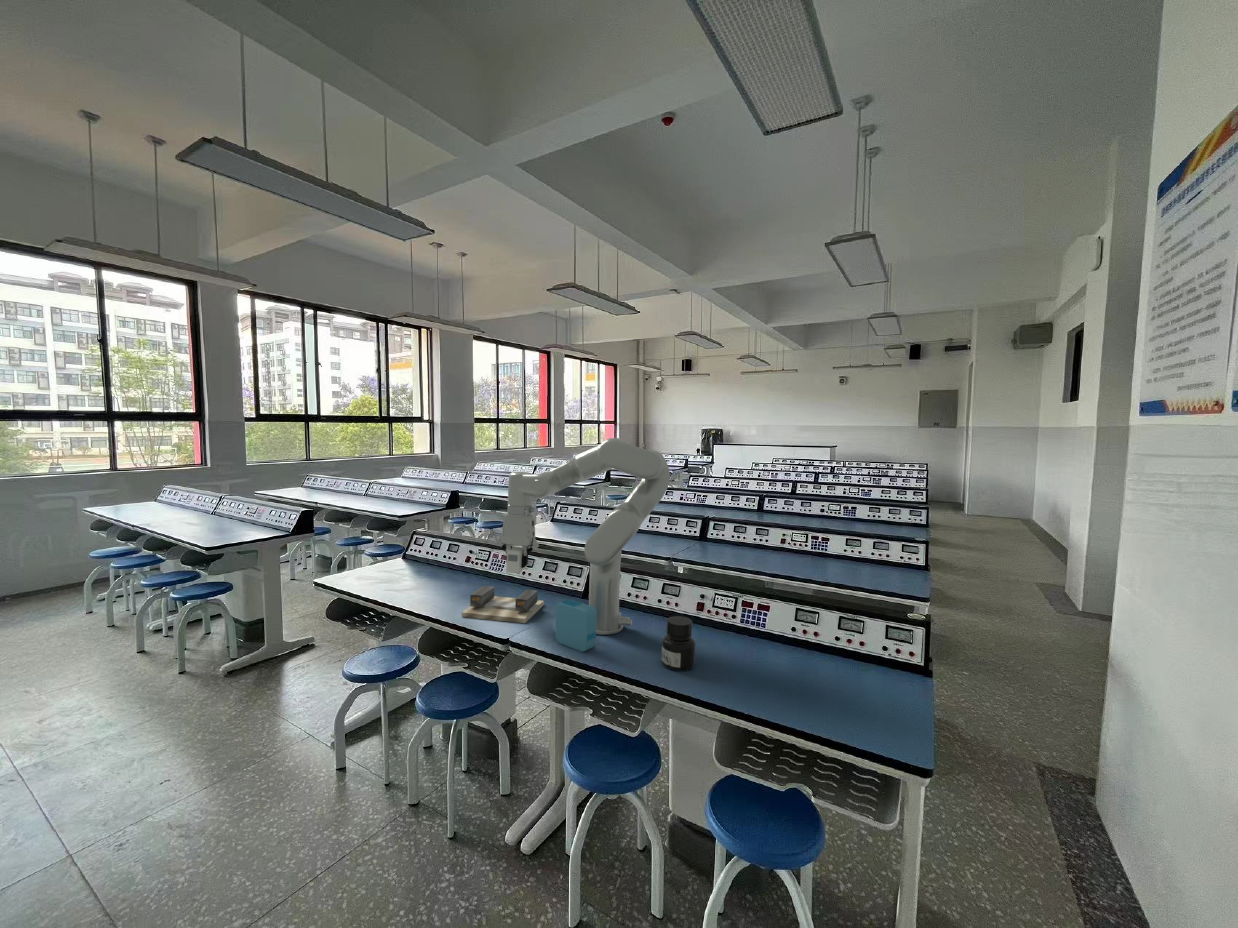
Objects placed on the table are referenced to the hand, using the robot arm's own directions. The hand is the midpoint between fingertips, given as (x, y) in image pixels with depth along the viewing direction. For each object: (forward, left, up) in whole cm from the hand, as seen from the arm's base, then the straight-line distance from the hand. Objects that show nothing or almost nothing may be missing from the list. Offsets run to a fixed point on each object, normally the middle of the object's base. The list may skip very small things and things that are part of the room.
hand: (516, 565), depth 163 cm
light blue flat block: (-24, +14, -18) cm, 33 cm away
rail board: (+7, -7, -18) cm, 20 cm away
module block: (0, 0, -1) cm, 1 cm away
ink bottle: (-54, +19, -18) cm, 60 cm away
